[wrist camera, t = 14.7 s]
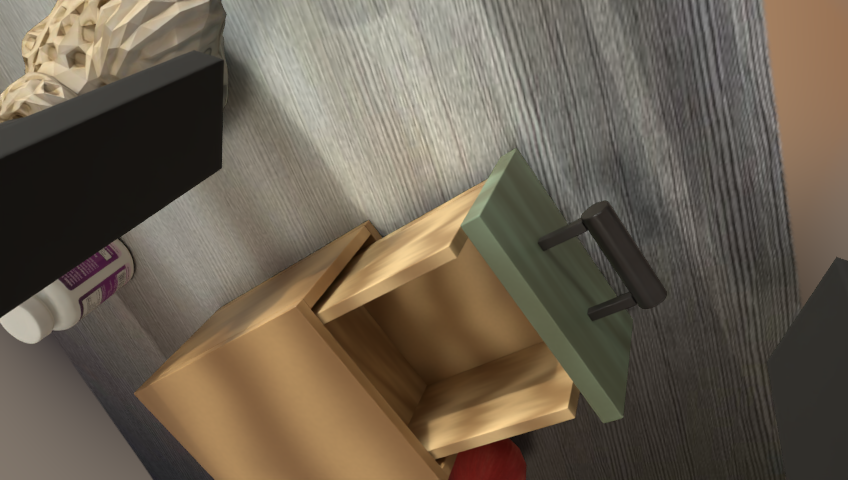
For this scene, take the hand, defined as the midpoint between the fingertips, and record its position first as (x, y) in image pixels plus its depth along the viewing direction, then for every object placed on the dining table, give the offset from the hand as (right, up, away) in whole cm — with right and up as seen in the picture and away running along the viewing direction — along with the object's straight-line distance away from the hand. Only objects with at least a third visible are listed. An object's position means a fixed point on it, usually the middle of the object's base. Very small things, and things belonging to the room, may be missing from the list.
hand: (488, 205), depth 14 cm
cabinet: (-7, -9, +38) cm, 39 cm away
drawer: (+3, -3, +29) cm, 29 cm away
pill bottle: (-28, -2, +42) cm, 51 cm away
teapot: (-18, +11, +30) cm, 37 cm away
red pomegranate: (+4, -16, +38) cm, 41 cm away
